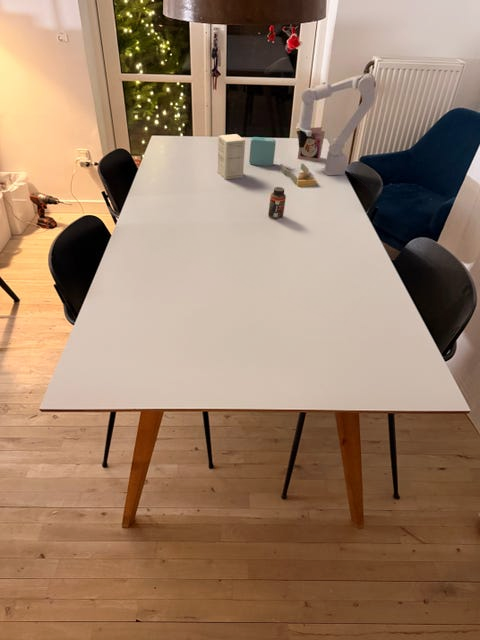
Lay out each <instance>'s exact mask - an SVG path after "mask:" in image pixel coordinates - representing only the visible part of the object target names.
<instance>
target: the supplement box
mask: <svg viewBox="0 0 480 640" xmlns="http://www.w3.org/2000/svg"><path fill="white" fill-rule="evenodd" d="M217 136H218V140H217V141H218V143H217V145H218V146H217V173H218V174H219V175H220V176H221V177H222V178H223V179H224V180H231V179H233V180H234V179H239V178H241V179H242V178H243V177H244V168H245V167H244V166H245V165H244V164H245V149H246V148H245V147H246V139H244V138H243V137H241V136H240V135H239V134H238V133H234V134H233V133H232V134H224V135H222V134H221V135H217Z"/></svg>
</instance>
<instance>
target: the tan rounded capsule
mask: <svg viewBox="0 0 480 640" xmlns="http://www.w3.org/2000/svg"><path fill="white" fill-rule="evenodd" d="M310 174H311V173H310ZM310 174H308V173H304V172H303V171H302V172H299V173H298V175H297V176H298V177H297V178H298V179H299V180H310Z"/></svg>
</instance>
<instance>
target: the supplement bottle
mask: <svg viewBox="0 0 480 640" xmlns="http://www.w3.org/2000/svg"><path fill="white" fill-rule="evenodd" d="M269 197H270V199H269V207H268V213H267V214H268V217H269V218H271V219H274V220H281V219H282V218H283V217H284V213H285V205H286V199H287V196H286V194H285V188H283V187H281V186H275V187H273V192H271V194H270V196H269Z"/></svg>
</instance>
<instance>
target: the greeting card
mask: <svg viewBox="0 0 480 640" xmlns="http://www.w3.org/2000/svg"><path fill="white" fill-rule="evenodd" d="M322 128H323V127H321V126H320V127H311V132H312V135H311V136H309V137H308V139H307V141H306V143H305V146H304V148H300V147H299V146H298V152H297V153H298V154H297V160H298V159H299V160H305V161H312V162H318V163H319V162H320V161H321V156H322V150H323V144H324V140H325V133H326V131H325V130H322Z"/></svg>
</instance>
